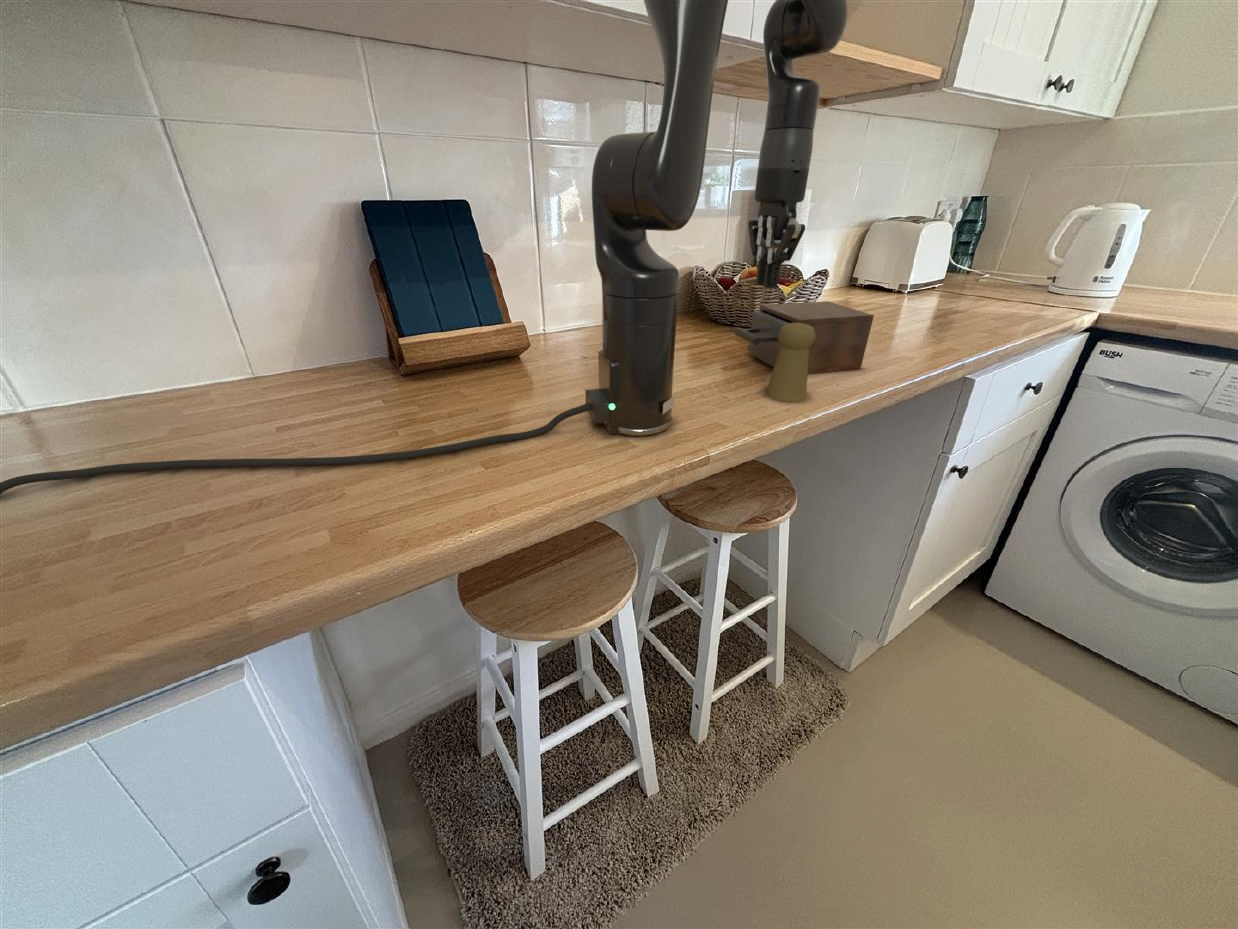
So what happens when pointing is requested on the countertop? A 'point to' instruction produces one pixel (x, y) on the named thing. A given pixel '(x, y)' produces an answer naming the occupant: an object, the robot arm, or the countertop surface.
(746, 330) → the drawer
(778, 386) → the olive chess pawn
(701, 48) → the robot arm
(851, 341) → the cabinet
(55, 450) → the countertop surface
